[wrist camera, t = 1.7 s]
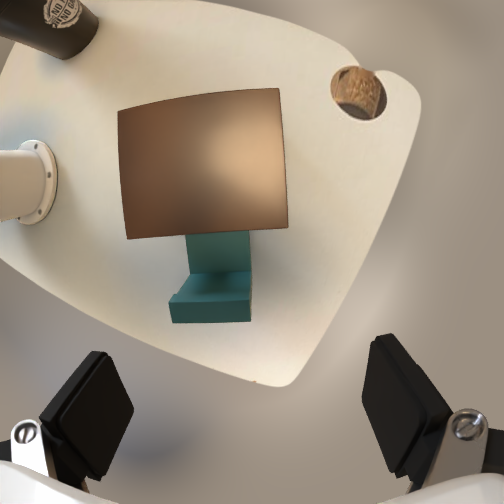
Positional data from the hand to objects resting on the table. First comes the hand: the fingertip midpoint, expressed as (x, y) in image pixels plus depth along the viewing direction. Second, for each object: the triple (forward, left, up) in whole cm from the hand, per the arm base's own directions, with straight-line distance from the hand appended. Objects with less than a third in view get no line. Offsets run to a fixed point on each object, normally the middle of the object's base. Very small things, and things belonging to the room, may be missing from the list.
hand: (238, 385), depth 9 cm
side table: (-3, +8, -24) cm, 25 cm away
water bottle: (-24, +33, -24) cm, 47 cm away
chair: (-3, +1, -24) cm, 24 cm away
